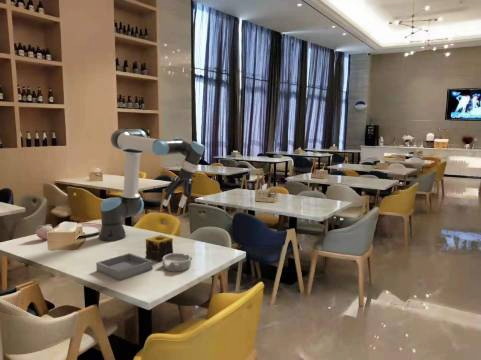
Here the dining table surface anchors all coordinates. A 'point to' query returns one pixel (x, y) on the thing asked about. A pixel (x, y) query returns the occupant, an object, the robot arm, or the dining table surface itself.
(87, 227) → the dinner plate
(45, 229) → the decorative fruit
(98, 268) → the tray
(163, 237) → the candle
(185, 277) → the dining table surface
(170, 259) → the dish
